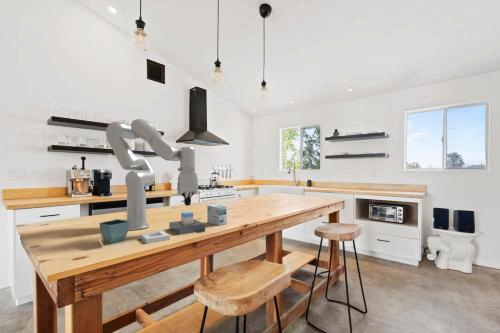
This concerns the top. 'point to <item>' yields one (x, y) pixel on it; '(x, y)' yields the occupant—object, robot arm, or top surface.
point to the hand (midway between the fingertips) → (187, 205)
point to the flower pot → (114, 230)
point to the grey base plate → (155, 237)
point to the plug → (186, 218)
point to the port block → (187, 227)
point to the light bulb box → (217, 214)
